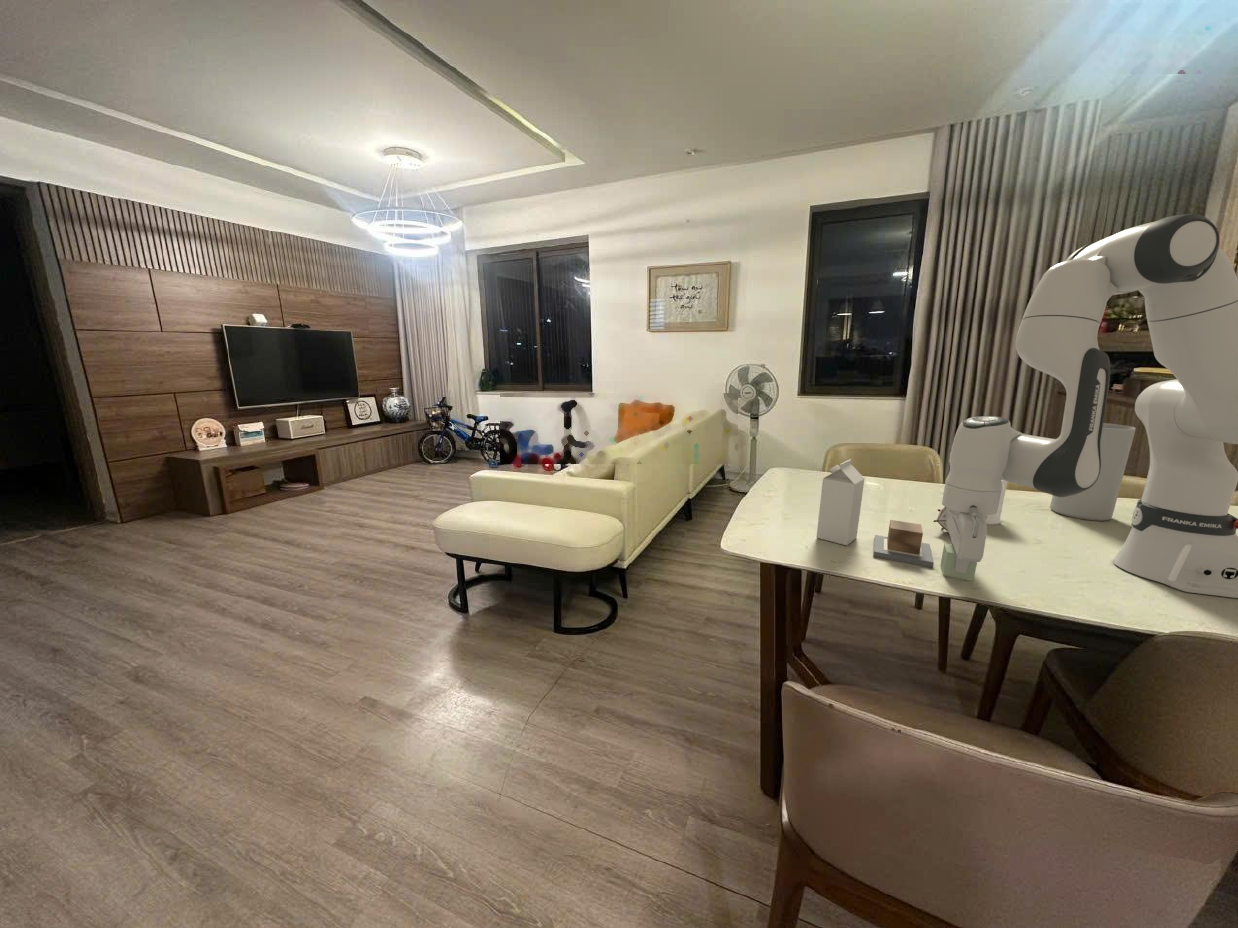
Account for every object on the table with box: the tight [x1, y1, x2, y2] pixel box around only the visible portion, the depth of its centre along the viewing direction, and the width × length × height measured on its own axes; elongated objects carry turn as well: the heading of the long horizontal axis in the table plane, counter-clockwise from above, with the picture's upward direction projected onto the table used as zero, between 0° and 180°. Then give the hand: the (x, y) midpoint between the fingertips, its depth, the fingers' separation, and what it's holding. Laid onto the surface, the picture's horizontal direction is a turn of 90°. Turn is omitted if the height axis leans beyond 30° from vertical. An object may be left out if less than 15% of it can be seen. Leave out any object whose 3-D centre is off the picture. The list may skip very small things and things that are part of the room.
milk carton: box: [816, 459, 865, 546], centre depth 110 cm, size 7×7×19 cm
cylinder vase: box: [1049, 422, 1136, 522], centre depth 127 cm, size 12×12×25 cm
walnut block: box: [887, 519, 924, 555], centre depth 104 cm, size 6×6×5 cm
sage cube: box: [939, 543, 978, 582], centre depth 94 cm, size 5×5×5 cm
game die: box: [932, 506, 949, 533], centre depth 114 cm, size 9×8×10 cm
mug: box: [985, 480, 1009, 526], centre depth 125 cm, size 12×8×12 cm
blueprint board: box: [872, 534, 935, 568], centre depth 104 cm, size 11×11×1 cm
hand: (957, 564), depth 95 cm, fingers closed on sage cube, 5 cm apart
